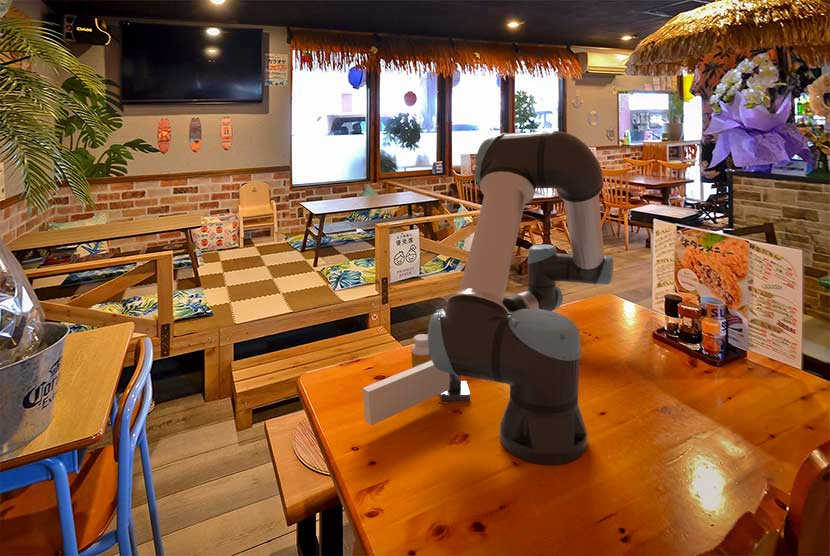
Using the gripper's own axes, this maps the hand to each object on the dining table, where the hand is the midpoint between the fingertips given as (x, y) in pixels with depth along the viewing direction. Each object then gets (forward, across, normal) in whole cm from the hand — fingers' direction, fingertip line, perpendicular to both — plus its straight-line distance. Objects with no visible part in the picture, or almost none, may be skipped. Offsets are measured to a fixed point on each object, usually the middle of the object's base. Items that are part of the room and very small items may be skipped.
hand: (451, 331), depth 121 cm
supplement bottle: (+10, -1, -8) cm, 13 cm away
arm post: (+11, -13, -8) cm, 19 cm away
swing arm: (+23, -13, -6) cm, 27 cm away
